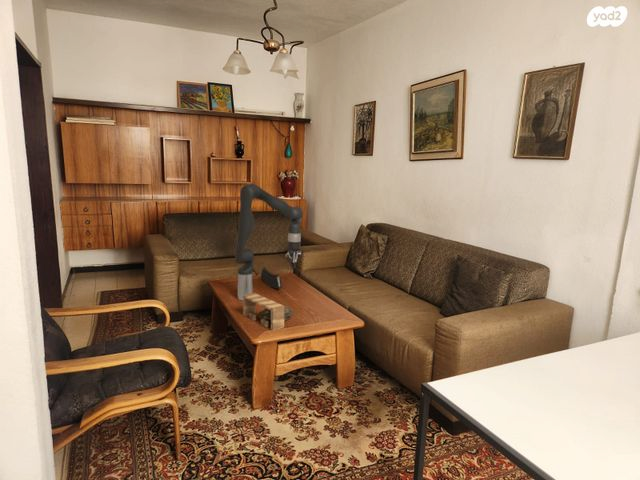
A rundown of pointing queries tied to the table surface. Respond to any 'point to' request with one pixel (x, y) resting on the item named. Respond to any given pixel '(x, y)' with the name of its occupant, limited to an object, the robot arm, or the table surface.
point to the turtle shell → (267, 314)
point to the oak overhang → (275, 308)
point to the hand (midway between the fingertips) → (293, 268)
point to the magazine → (271, 279)
